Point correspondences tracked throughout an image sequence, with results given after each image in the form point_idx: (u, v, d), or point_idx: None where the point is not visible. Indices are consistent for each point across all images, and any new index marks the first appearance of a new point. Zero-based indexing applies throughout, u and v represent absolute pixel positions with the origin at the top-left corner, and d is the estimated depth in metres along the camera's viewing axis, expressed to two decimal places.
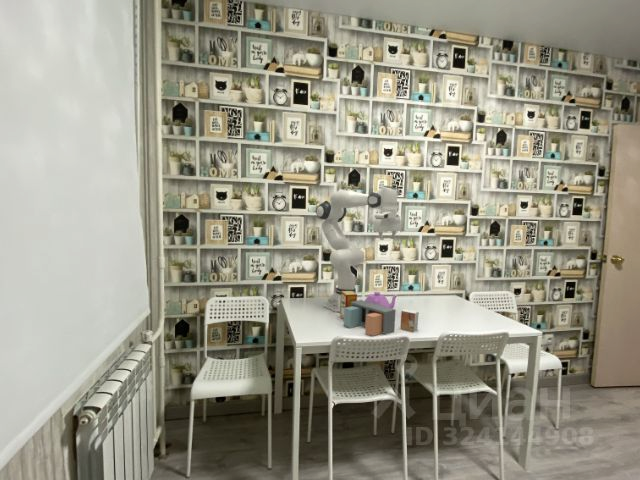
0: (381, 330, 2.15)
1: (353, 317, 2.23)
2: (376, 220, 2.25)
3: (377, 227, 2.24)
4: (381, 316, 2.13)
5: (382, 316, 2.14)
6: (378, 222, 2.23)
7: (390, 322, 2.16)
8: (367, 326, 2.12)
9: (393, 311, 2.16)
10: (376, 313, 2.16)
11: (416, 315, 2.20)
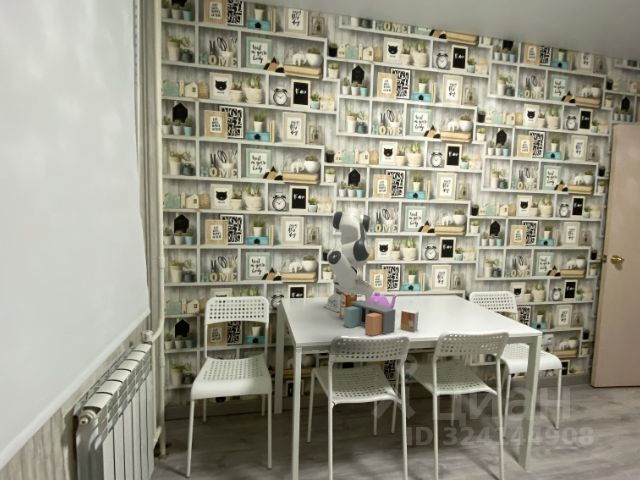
0: (381, 330, 2.15)
1: (353, 317, 2.23)
2: None
3: None
4: (381, 316, 2.13)
5: (382, 316, 2.14)
6: None
7: (390, 322, 2.16)
8: (367, 326, 2.12)
9: (393, 311, 2.16)
10: (376, 313, 2.16)
11: (416, 315, 2.20)
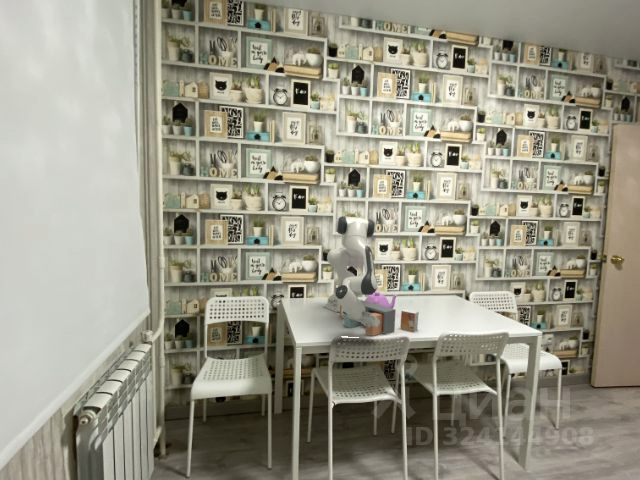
0: (382, 330, 2.15)
1: None
2: None
3: None
4: (381, 316, 2.13)
5: (382, 316, 2.14)
6: None
7: (390, 322, 2.16)
8: None
9: (393, 311, 2.16)
10: (376, 313, 2.16)
11: (416, 315, 2.20)
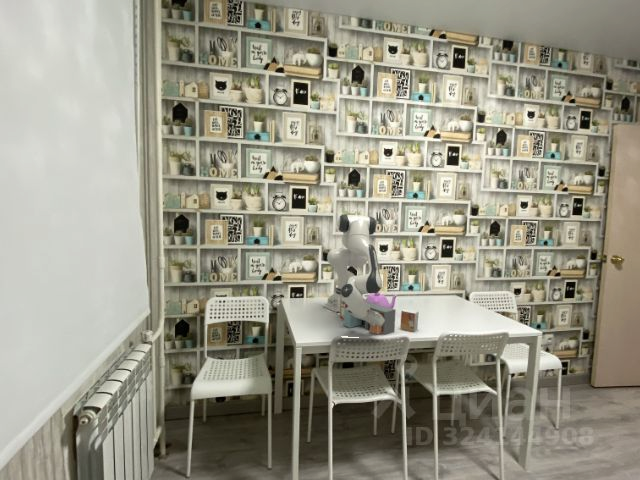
0: None
1: (353, 317, 2.23)
2: None
3: None
4: None
5: None
6: None
7: (390, 322, 2.16)
8: (372, 325, 2.15)
9: (393, 311, 2.16)
10: None
11: (416, 315, 2.20)
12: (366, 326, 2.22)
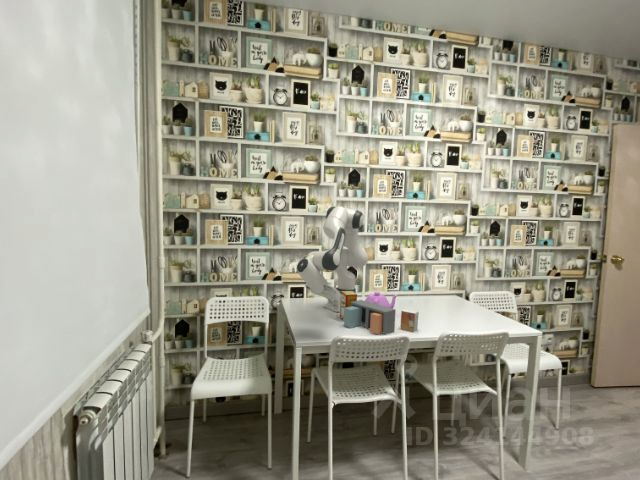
0: None
1: (353, 317, 2.23)
2: None
3: None
4: None
5: None
6: None
7: (390, 322, 2.16)
8: (372, 325, 2.15)
9: (393, 311, 2.16)
10: None
11: (416, 315, 2.20)
12: (366, 326, 2.22)
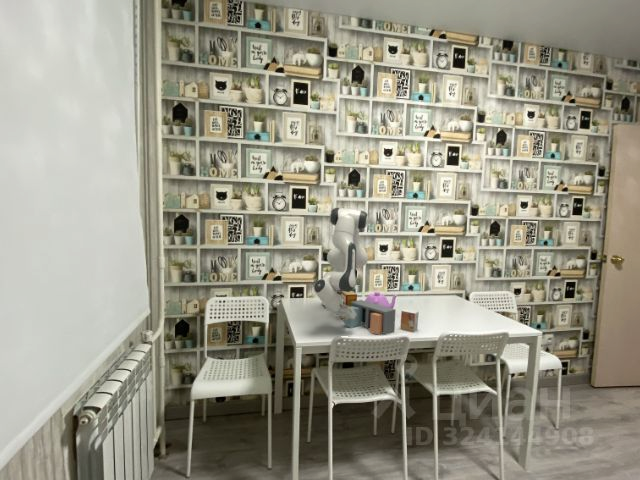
0: None
1: None
2: None
3: None
4: None
5: None
6: None
7: (390, 322, 2.16)
8: (372, 325, 2.15)
9: (393, 311, 2.16)
10: None
11: (416, 315, 2.20)
12: (366, 326, 2.22)
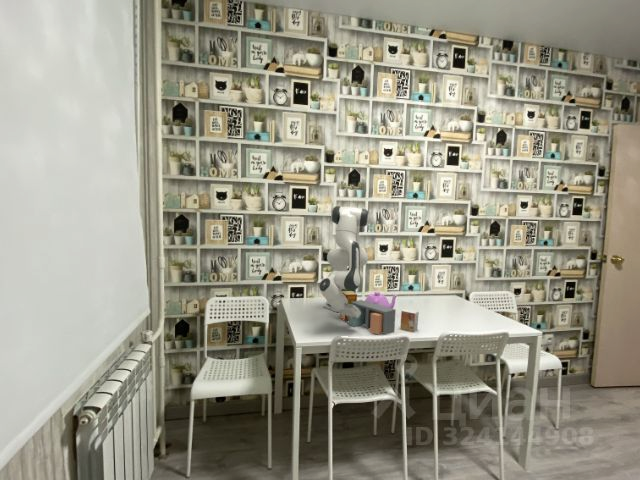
0: None
1: None
2: None
3: None
4: None
5: None
6: None
7: (390, 322, 2.16)
8: (372, 325, 2.15)
9: (393, 311, 2.16)
10: None
11: (416, 315, 2.20)
12: (366, 326, 2.22)
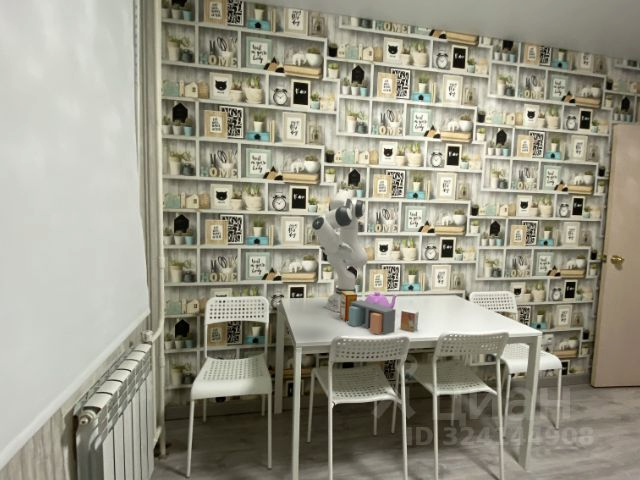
0: None
1: (358, 316, 2.25)
2: None
3: None
4: None
5: None
6: None
7: (390, 322, 2.16)
8: (372, 325, 2.15)
9: (393, 311, 2.16)
10: None
11: (416, 315, 2.20)
12: (366, 326, 2.22)
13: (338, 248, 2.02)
